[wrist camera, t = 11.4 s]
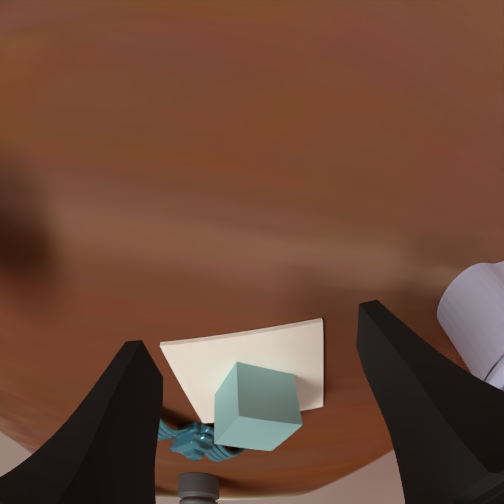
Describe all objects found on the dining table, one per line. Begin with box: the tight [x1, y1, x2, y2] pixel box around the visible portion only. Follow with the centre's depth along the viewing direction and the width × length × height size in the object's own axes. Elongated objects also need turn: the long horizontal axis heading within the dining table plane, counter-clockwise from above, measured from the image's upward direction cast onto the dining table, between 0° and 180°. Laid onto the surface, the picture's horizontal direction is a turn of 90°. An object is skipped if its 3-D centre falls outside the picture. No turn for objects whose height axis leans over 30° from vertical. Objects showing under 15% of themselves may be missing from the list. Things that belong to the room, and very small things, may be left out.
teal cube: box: [214, 361, 303, 451], centre depth 23 cm, size 5×5×5 cm
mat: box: [160, 318, 323, 423], centre depth 25 cm, size 12×12×1 cm
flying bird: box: [158, 418, 248, 462], centre depth 29 cm, size 15×7×4 cm, turn 41°
